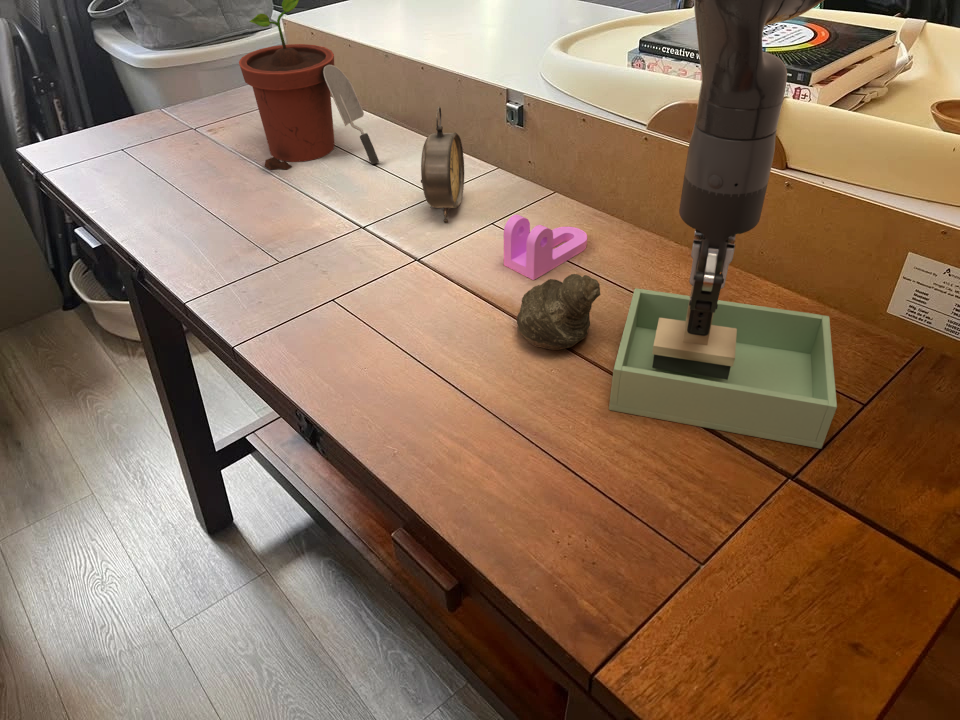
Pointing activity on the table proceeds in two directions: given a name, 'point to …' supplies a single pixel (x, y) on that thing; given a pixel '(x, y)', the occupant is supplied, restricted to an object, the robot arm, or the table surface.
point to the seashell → (558, 311)
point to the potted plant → (299, 98)
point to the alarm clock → (442, 169)
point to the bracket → (539, 246)
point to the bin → (733, 372)
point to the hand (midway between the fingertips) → (698, 323)
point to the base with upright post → (694, 348)
